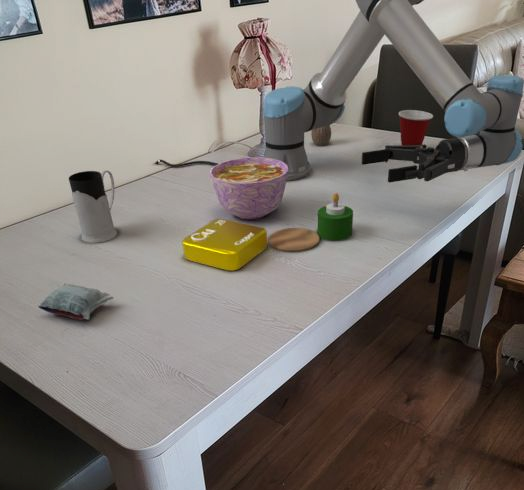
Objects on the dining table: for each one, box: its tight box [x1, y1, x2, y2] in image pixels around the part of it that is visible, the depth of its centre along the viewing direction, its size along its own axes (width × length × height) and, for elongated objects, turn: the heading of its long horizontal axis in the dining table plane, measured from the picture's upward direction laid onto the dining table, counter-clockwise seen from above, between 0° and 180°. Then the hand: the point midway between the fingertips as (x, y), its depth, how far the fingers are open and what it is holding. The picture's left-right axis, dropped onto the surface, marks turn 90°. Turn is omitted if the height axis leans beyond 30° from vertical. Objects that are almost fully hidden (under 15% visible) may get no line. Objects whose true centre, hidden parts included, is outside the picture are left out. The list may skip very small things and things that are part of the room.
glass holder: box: [68, 170, 118, 244], centre depth 133 cm, size 9×14×15 cm, turn 158°
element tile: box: [181, 218, 268, 272], centre depth 123 cm, size 15×15×5 cm
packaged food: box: [37, 283, 114, 321], centre depth 105 cm, size 9×12×5 cm
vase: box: [310, 125, 332, 147], centre depth 187 cm, size 7×7×9 cm
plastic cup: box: [398, 109, 434, 145], centre depth 174 cm, size 11×11×12 cm
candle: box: [316, 192, 354, 242], centre depth 127 cm, size 8×8×10 cm
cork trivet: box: [268, 227, 320, 253], centre depth 128 cm, size 12×12×1 cm
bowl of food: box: [209, 156, 289, 220], centre depth 139 cm, size 20×20×12 cm
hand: (374, 167), depth 123 cm, fingers open, 13 cm apart
